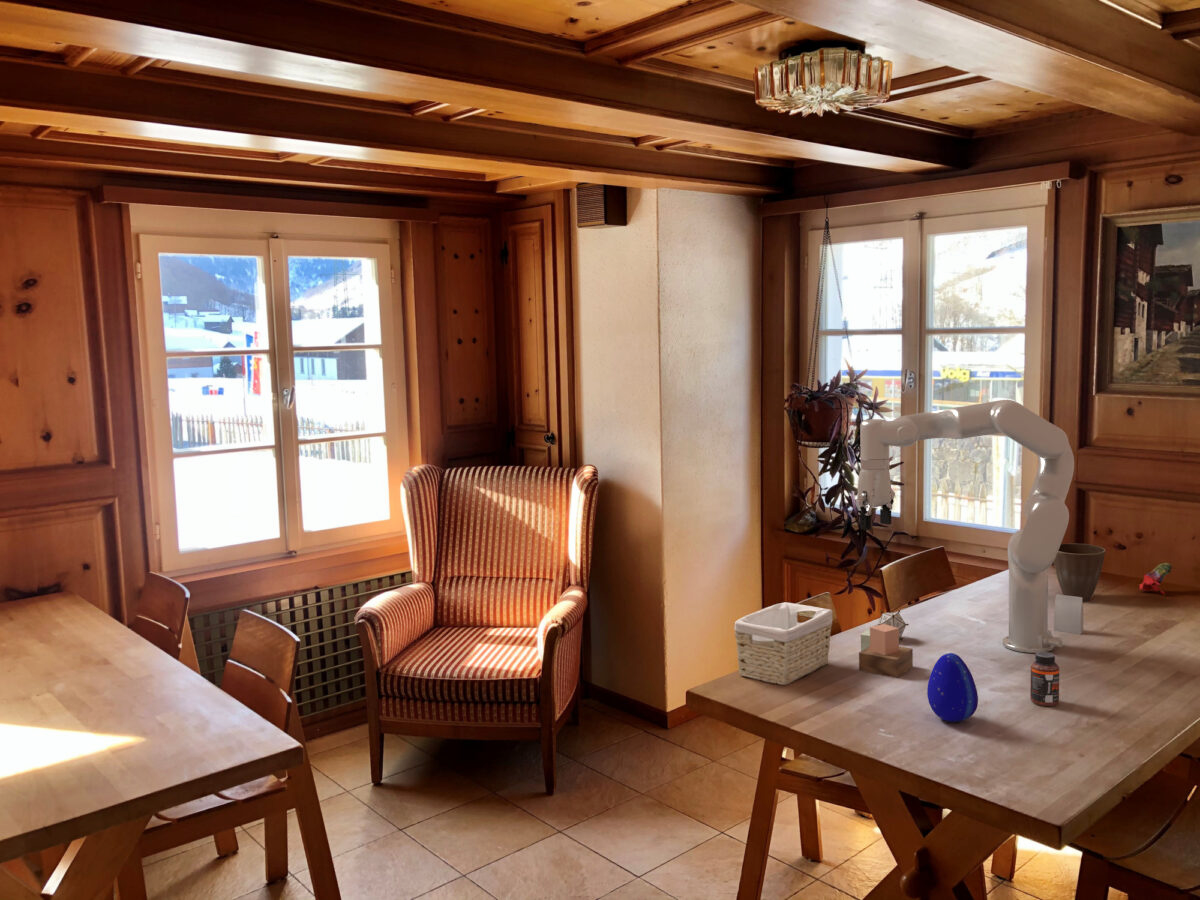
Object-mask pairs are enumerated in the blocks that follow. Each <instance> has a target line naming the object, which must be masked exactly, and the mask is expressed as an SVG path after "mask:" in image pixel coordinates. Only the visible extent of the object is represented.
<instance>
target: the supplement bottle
mask: <svg viewBox="0 0 1200 900" xmlns="http://www.w3.org/2000/svg"><path fill="white" fill-rule="evenodd" d="M1055 661H1056V655H1055V654H1054V653H1052V652H1049V651H1048V652H1038V653H1035V660H1034V661H1033V662H1031V665H1030V694H1029V695H1030V701H1031V702H1032V703H1033V704H1035V705H1038V706H1042V707H1054V706H1057V705H1058V704H1059V702H1060V666H1059V665H1058V663H1056V662H1055Z"/></svg>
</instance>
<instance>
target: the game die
mask: <svg viewBox="0 0 1200 900" xmlns="http://www.w3.org/2000/svg"><path fill="white" fill-rule="evenodd" d="M880 613H881V615H880V617H879V621H878V624H877V625H881V624H886V625H889V626H893V627H896V628H899V640H900V641H903V638H902V636H903V633H904V632H905V629H906V626H910V624H909V623H906V622H905V621H904V619H903V617H902V616H901V609H899V610H898V611H897V612H883V610H880ZM877 625H874V626H877Z"/></svg>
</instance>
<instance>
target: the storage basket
mask: <svg viewBox="0 0 1200 900" xmlns="http://www.w3.org/2000/svg"><path fill="white" fill-rule="evenodd" d="M798 616H800V617H806V618H809V620H806V621H804V622H803V621H802V622H798ZM832 626H833V610H832V609H829V608H822V607H817V606H812V605H804V604H799V603H793V602H785V601H784V602H781V603H776V604H773V605H771V606H768V607H764V608H762V609H760V610H758V611H754V612H752V613H749V614H747V615H744V616H743V617H741V618H739V619H737V620H735V622H734V637H735V642H736V652H737V663H738V673H739V675H741V676H743V677H747V678H750V679H754V680H759V681H762V682H765V683H771V684H774V683H775V684H776V683H777V684H778V685H781V686H786V685H790V683H792V682H794V681H796V680H799V679H801V678H803V677H804V676H805V675H808V674H811V673H813V672H814V671H815V670H818V668H819V669H820V668H821V667H824V666H825V665H826V664H828V663H829V653H830V652H829V651H830V646H831V644H830V642H831V631H832ZM775 684H774V685H775Z"/></svg>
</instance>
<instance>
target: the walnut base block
mask: <svg viewBox="0 0 1200 900" xmlns="http://www.w3.org/2000/svg"><path fill="white" fill-rule="evenodd" d="M913 651H914V650H913V648H909V647H905V646H899V651H898V652H895V653H891V654H888V655H883V654H880V653H877V652H874V651H871V650H870V646H869V647H867V648H866V649H864V650H863V651H861V650H860V651H859V652H858V668H859V669H858V671H859V670H860V671H859V672H864V671H865V672H864V673H869V672H870V673H869V674H874V673H876V674H875V675H879V674H880V676H885V675H886V676H885V677H890V676H891V678H895V677H896V679H898V678H899V677H900V675H901V676H902V675H904V674H905V673H906V672H907V671H909V670H910V669H912V668H913V665H914V662H913V661H914V655H913V654H914V653H913Z"/></svg>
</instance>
